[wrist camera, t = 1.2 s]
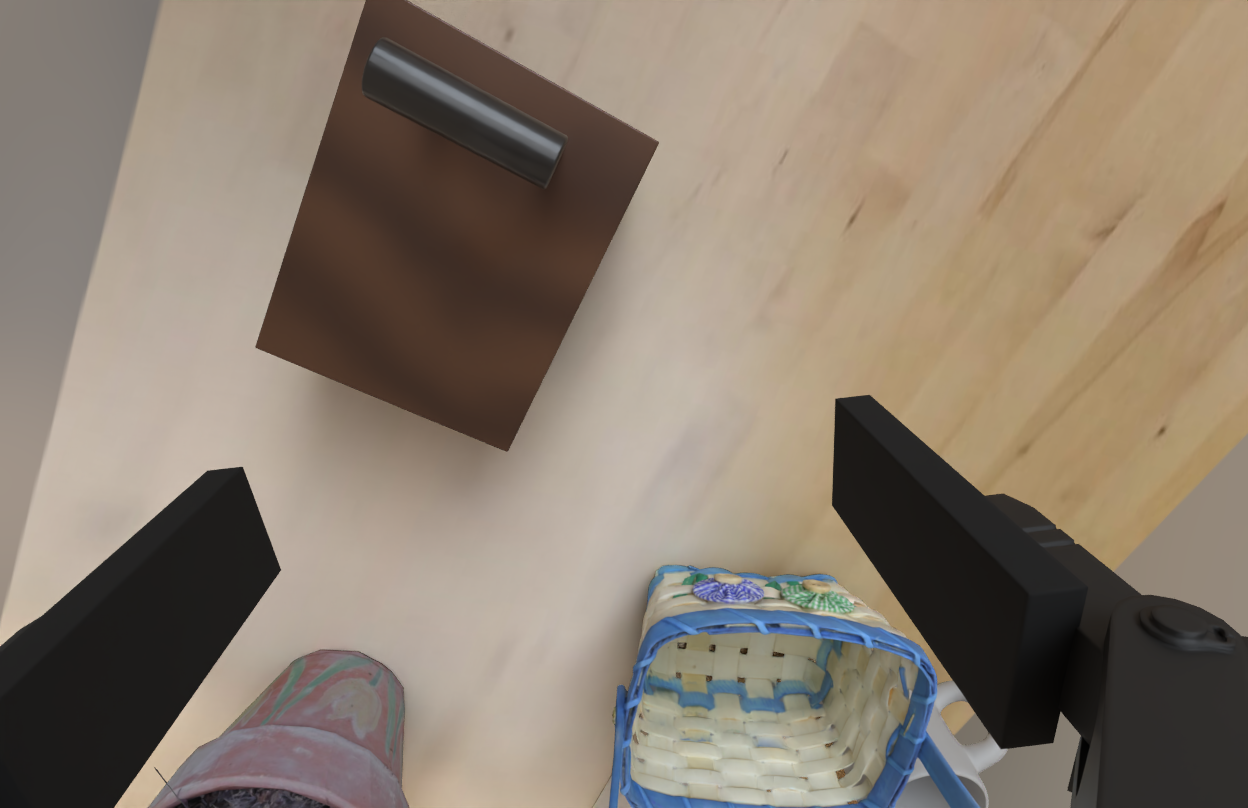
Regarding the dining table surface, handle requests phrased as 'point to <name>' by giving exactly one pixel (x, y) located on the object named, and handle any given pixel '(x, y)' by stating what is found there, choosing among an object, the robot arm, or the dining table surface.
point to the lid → (448, 225)
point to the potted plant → (305, 743)
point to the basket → (772, 698)
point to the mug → (921, 796)
